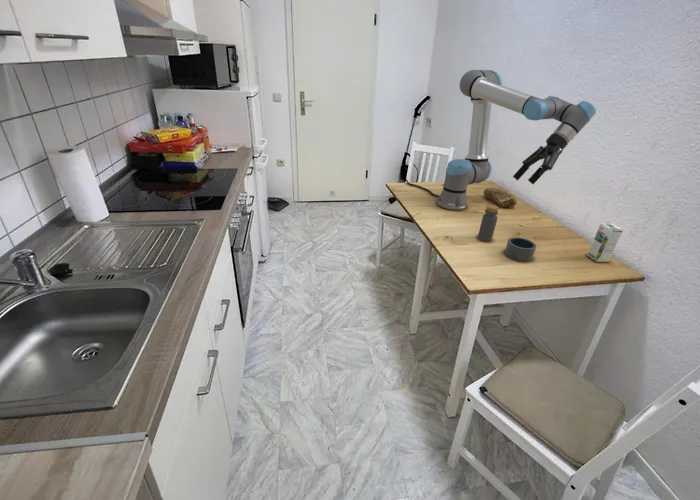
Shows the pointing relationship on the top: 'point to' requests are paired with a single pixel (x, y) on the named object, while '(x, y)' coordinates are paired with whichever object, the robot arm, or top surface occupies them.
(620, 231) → the syrup box
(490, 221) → the bottle
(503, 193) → the bread loaf
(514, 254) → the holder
